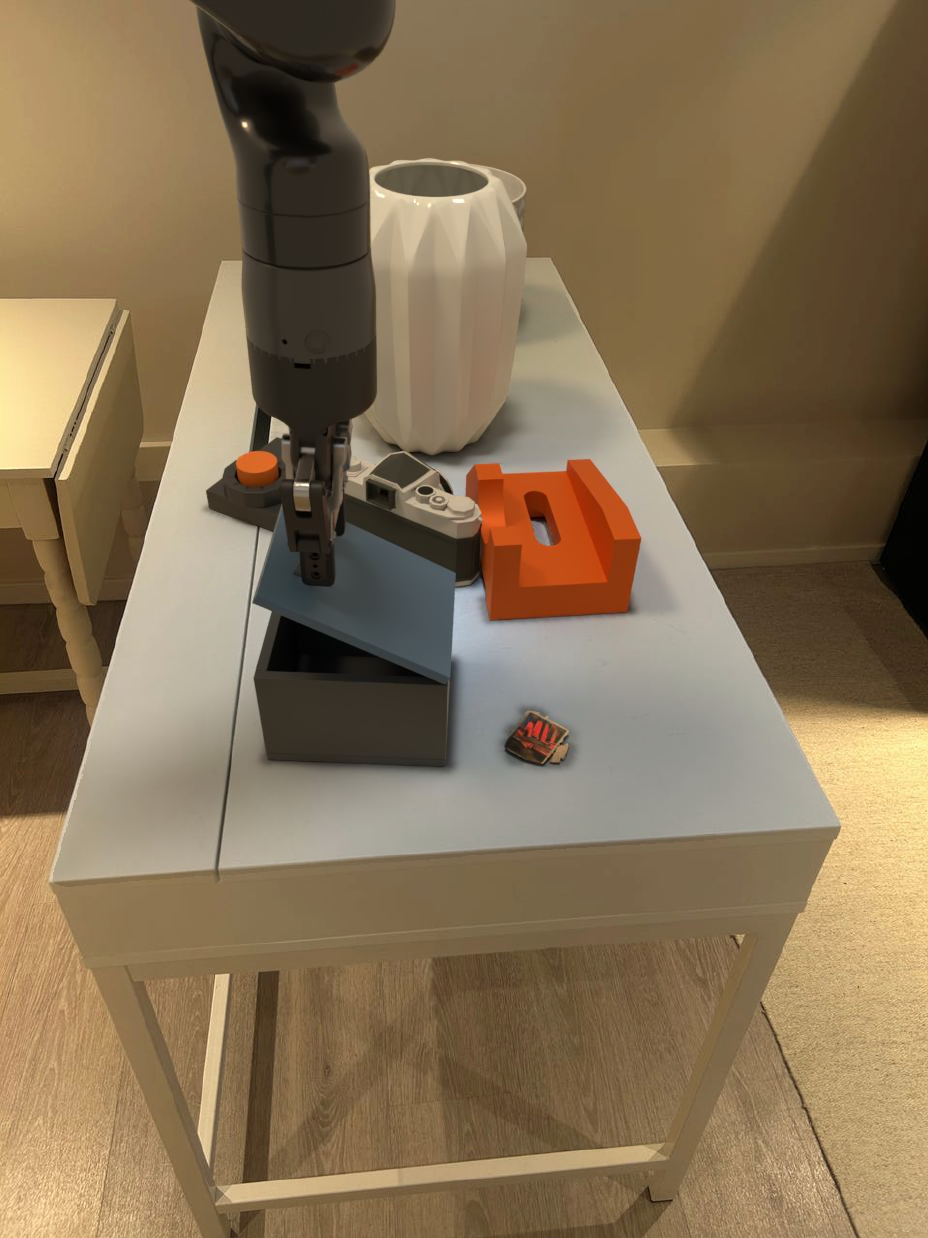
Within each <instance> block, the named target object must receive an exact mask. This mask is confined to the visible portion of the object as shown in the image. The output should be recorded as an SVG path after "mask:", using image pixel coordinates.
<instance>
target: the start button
mask: <svg viewBox="0 0 928 1238" xmlns="http://www.w3.org/2000/svg"><path fill="white" fill-rule="evenodd" d="M236 460H237V461H236V467H237V474H238V480H239V482H240V483H241V484H244V485H247V486H264V485H267V484H271V483H273V482H275V481H276V480H277V479H278V477H279V472H278V464H277V458H276V457H275V456H274V455H273V454H271V453H269V452H264V451H259V450H254V451H249V452H245V453H244V454H242V455H240V456H238V458H237V459H236Z"/></svg>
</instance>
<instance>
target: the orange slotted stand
mask: <svg viewBox="0 0 928 1238" xmlns="http://www.w3.org/2000/svg"><path fill="white" fill-rule="evenodd" d="M464 495H465V496H464V497H469V498H470V499H472V500H473V501H474V502H475V504H477V505H478V507H479V509H480V511H481V513H482V514H481V518H482V519H483V522H482V527H481V541H480V569H481V573H482V575H483V576H482V577H483V582H484V586H485V605H486V610H487V614H488V619H489V621H500V620H501V621H502V620H515V619H531V618H533V619H534V618H535V619H536V618H548V617H549V618H550V617H551V618H552V617H566V616H567V617H568V616H582V615H583V616H585V615H601V614H615V613H617V614H618V613H628V611H629V606H630V599H631V594H632V589H633V584H634V579H635V573H636V569H637V564H638V558H639V554H640V548H641V542H642V536H641V534H640V532H639V530H638V527H637V525H636V523H635V521H634V519H633V516H632V514H631V512H630V510H629V507H628V505H627V504H626V502H625V501H624V500H623V499H622V498H621V497H620V495H619V493H617V491H616V490H615V489H614V488H613V486H612V485H611V484H610V482H609V481H608V480H607V479H606V477H605V476H604V475H603V473H602V472H601V471H600V470H599V468H598V467H597V466H596V465H595V463H594V462H593V461H592V459H591V458H582V459H581V458H578V459H577V458H576V459H567V462H566V470H557V471H555V470H554V471H538V472H537V471H535V472H534V471H533V472H532V471H531V472H512V473H510V472H508V473H503V471H502V468H501V464H500V463H499V462H496V463H474V464H473V466H472V467H471V469H469V471H468V472H467V474H466V475H465V494H464ZM543 517H545V520H546V524H547V527H548V529H549V532H550V536H551V540H552V542H553V545H546V544H543V543H541V542H539V541H538V539H537V536H536V534H535V531H534V527H533V523H532V521H531V518H543Z"/></svg>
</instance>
